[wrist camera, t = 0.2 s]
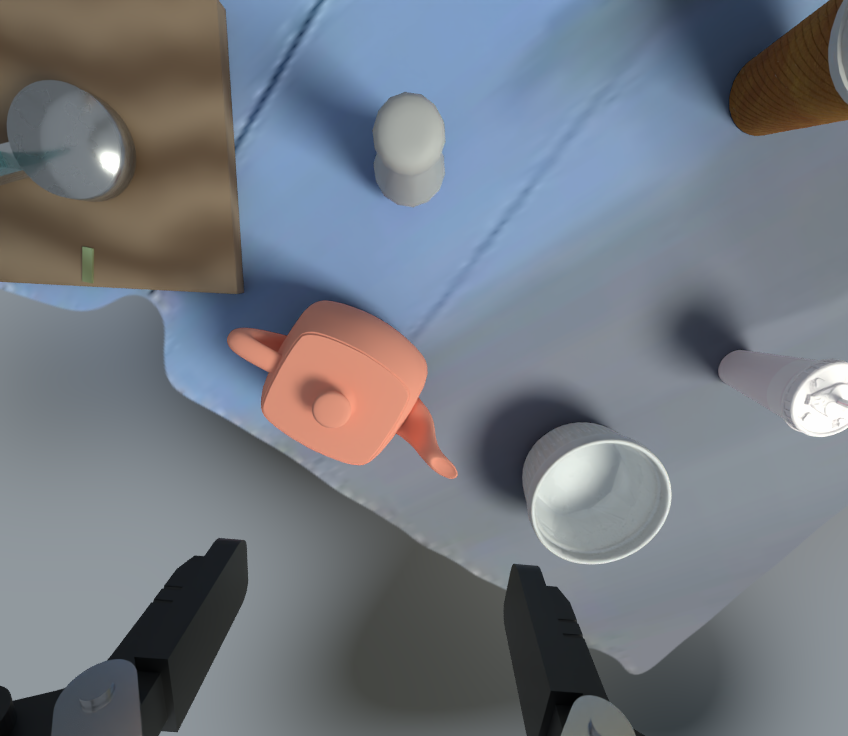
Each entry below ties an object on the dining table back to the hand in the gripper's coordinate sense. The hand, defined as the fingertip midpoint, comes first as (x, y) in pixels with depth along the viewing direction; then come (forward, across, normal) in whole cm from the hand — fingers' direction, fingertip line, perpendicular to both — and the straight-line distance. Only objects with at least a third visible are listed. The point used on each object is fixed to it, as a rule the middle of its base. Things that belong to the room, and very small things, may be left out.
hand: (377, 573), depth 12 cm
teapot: (+28, +5, +3) cm, 29 cm away
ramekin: (+29, -19, +12) cm, 37 cm away
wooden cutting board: (+28, +28, -14) cm, 42 cm away
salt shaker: (+29, +2, -15) cm, 33 cm away
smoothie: (+30, -33, 0) cm, 45 cm away
